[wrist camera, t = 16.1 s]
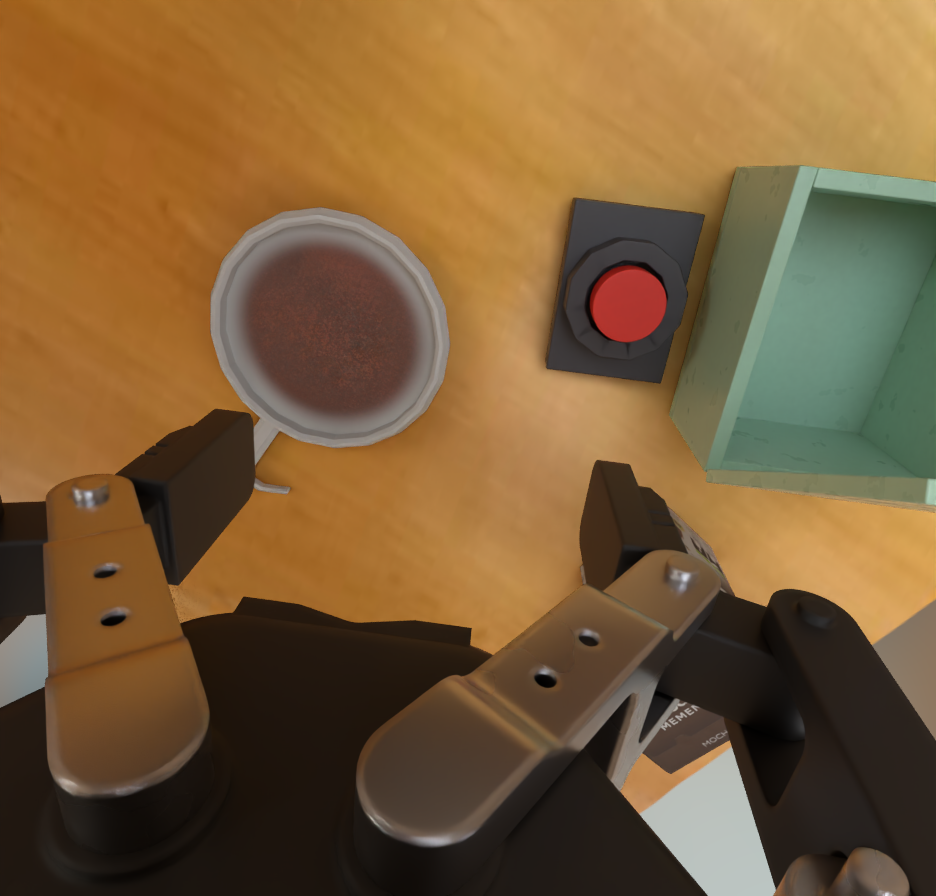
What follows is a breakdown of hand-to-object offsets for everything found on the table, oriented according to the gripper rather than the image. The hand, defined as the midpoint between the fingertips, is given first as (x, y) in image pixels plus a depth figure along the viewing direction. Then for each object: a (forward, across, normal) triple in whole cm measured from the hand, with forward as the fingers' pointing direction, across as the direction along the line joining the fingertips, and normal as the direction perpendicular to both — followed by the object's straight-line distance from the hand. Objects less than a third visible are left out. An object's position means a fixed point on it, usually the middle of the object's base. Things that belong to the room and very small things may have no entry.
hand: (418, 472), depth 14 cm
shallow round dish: (+30, +13, +10) cm, 34 cm away
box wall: (+30, -22, 0) cm, 37 cm away
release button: (+27, -9, 0) cm, 28 cm away
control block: (+30, -9, 0) cm, 31 cm away
